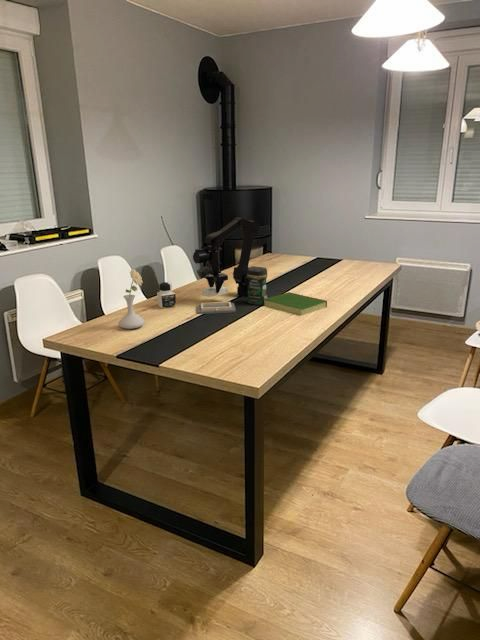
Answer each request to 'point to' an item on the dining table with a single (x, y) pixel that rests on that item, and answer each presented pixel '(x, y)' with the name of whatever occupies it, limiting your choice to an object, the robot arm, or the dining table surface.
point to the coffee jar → (257, 285)
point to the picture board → (216, 307)
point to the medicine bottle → (166, 296)
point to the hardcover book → (295, 303)
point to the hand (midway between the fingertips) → (214, 291)
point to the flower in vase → (131, 318)
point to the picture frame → (213, 291)
